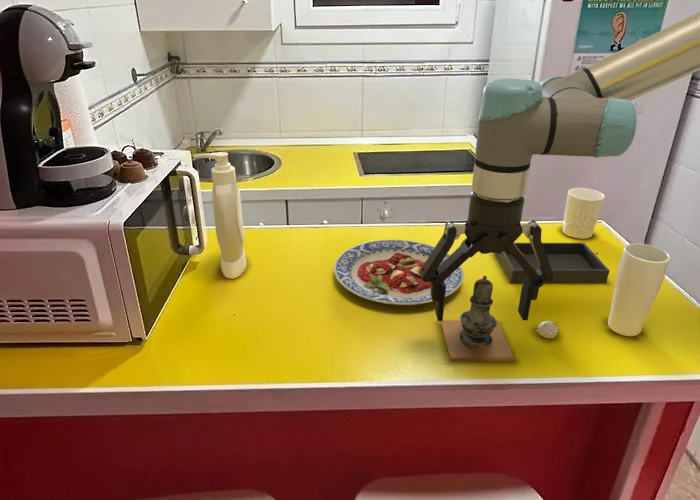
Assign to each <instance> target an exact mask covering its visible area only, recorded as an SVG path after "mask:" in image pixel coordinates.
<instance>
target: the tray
mask: <svg viewBox="0 0 700 500" xmlns="http://www.w3.org/2000/svg"><path fill="white" fill-rule="evenodd" d="M514 244H515V245H516V246H517V248H518V249H519V250H520V251H521V253H522V254H523V255H524V256H525V258H526V259H527V260H528V262H529V263H530V264H531V265H532V267H533V268H534V269H535V270H536V271H538V270H541V269H540V267H539V264H538V261H537V259H536V256H535V254H534V251H533V248H532V246H531V243H530V242H514ZM542 244H543V247H544V250H545V253H546V255H547V258H548V261H549V263H550V266H551V269H552V272H553V274H554V279H553V280H552V281H548V280H545V281H543V283H544V284H607V281H608V278H609V274H610V272H611V271H610V269H609V268H608V267H607V266H606V264H605V263H603V262H602V260H601V259H600V258H599V257H598V255H596V254H595V252H593V251H592V249H590V247H589V246H588V245H587V244H586V243H585V242H542ZM494 255H495V257H496V259H497V261H498V262H499V264H500V266H501V268H502V270H503V271H504V273H505V275H506V277H507V279H508V280H509V282H510V283H511V284H523V278H524V277H529V276H528V275H527V273H526V272H525V271H524V270H523V268H522V267H521V266H520V265H519V263H518V262H517V261H516V260H515V258H514V257H513V256H512V255H511V254H510V253H509V251H508V250H506V251H504V252H502V254H496V253H494ZM529 278H530V277H529Z"/></svg>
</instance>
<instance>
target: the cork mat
mask: <svg viewBox="0 0 700 500" xmlns="http://www.w3.org/2000/svg"><path fill="white" fill-rule="evenodd" d="M496 321H497V325H496V327H495V328H494V330H493V331H492V332H491V334H490V335H491V337H492V342H491V344H490V345H489V346H487V347H483V348H476V347H471V346H469V345H466V344H465V343H463V342H462V341H461V339H460V332H461V331H462V330H463V327H462V323H461V321H460V320H443V321H440V327H441V331H442V335H443V338H444V341H445V345H446V349H447V352H448V356H449V360H450V362H514V361H515V355H514V353H513V351H512V349H511V347H510V345H509V341H508V340H507V338H506V335H505V334H504V331H503V329H502V327H501V325H500V322H499V321H498V320H496Z"/></svg>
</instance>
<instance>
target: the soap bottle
mask: <svg viewBox="0 0 700 500" xmlns="http://www.w3.org/2000/svg"><path fill="white" fill-rule="evenodd" d="M228 155H229V153H228V152H225V151H220V152H219V151H218V152H216V153H197V154H193V158H194V159H197V158H198V159H199V158H206V159H212V160H216V163H214V167H211V169H210V170H211V180H212V188H211V203H212V204H211V205H212V211H213V218H214V219H213V220H214V228H215V235H216V240H217V243H218V245H219V249H220V269H221V273H222V274H223V276H224V277H225V278H227V279H231V280H233V279H237V278H239V277H240V276H242V274H243V273H244V272H245V271H246V268H247V265H248V264H247V258H246V254H245V249H244V243H245V232H244V231H245V229H244V223H243V221H244V220H243V212H242V199H241V191H240V187H239V186H238V183H237V174H236V167H235V166H233V165H232V164H231V163H230V162H229V159H228Z"/></svg>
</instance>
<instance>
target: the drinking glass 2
mask: <svg viewBox="0 0 700 500" xmlns="http://www.w3.org/2000/svg"><path fill="white" fill-rule="evenodd" d="M670 261H671V256H670V254H669V253H668V252H667V251H666V250H664V249H663V248H660V247H658V246H654V245H652V244H647V243H638V242H637V243H635V242H634V243H629V244H626V245H625V246H624V247H623V251H622V254H621V257H620V260H619V263H618V267H617V272H616V277H615V283H614V289H613V295H612V300H611V305H610V310H609V315H608V318H607V325H608V327H609V329H610V330H611V331H613V332H614V333H616V334H617V335H621V336H624V337H636V336H638V335H640V334H641V333H642V330H643V328H644V324H645V322H646V320H647V318H648V315H649V313H650V311H651V309H652V308H653V307H652V306H653V304H654V302H655V300H656V298H657V296H658V293H659V292H660V289H661V287H662V285H663V282H664V281H665V277H666V275H667V272H668V269H669V264H670Z"/></svg>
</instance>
